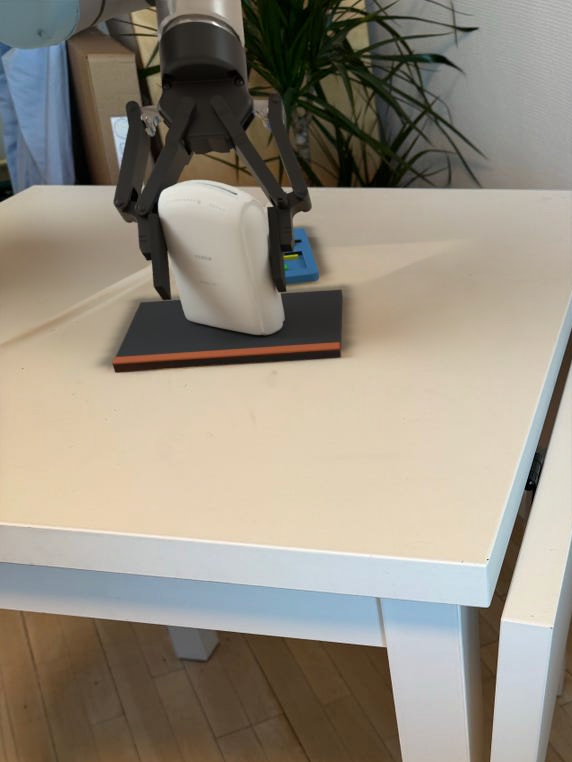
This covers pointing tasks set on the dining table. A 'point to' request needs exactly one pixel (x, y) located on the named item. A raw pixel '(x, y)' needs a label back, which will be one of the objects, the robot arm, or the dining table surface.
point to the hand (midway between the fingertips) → (221, 289)
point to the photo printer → (221, 256)
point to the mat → (231, 336)
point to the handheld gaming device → (300, 260)
